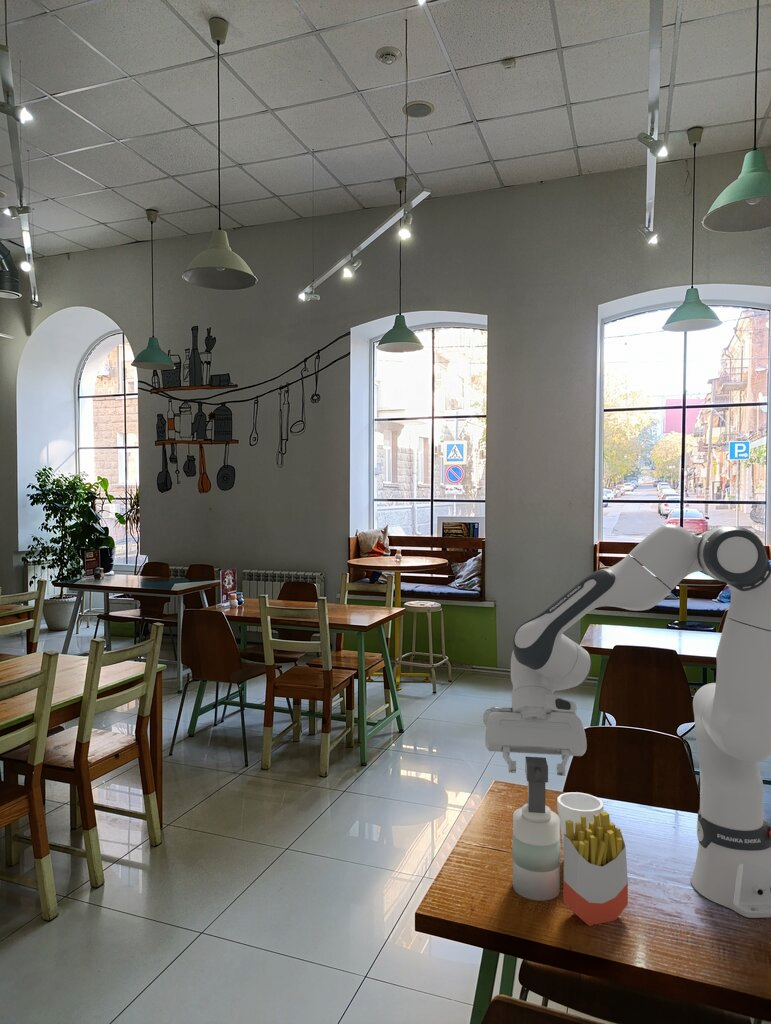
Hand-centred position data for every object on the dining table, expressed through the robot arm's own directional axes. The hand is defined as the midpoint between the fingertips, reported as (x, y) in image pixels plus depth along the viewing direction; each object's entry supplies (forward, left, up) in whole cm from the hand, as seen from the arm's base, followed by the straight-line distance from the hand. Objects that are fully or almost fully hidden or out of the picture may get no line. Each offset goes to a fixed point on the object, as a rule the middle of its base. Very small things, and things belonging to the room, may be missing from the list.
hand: (536, 773), depth 131 cm
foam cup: (-10, -11, -23) cm, 28 cm away
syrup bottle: (0, 0, -23) cm, 23 cm away
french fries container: (-10, +8, -23) cm, 26 cm away
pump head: (0, +2, -7) cm, 7 cm away
